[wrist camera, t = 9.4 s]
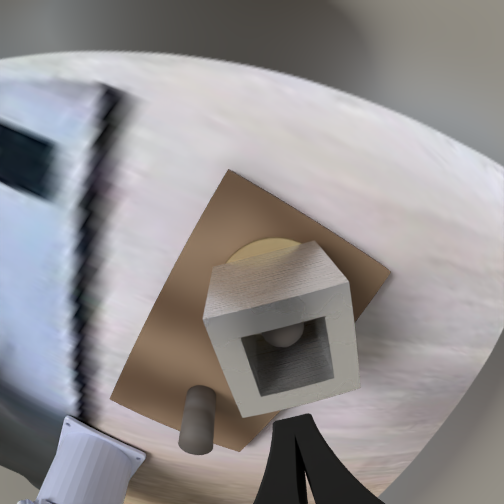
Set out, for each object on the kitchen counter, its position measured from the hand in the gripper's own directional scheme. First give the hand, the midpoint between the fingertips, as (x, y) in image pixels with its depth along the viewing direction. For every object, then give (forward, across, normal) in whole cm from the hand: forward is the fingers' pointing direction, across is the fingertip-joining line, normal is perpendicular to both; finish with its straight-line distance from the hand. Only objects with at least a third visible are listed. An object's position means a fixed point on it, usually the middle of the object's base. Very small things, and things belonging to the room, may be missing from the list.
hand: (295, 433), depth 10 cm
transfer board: (+9, +3, +1) cm, 10 cm away
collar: (+8, 0, -2) cm, 8 cm away
